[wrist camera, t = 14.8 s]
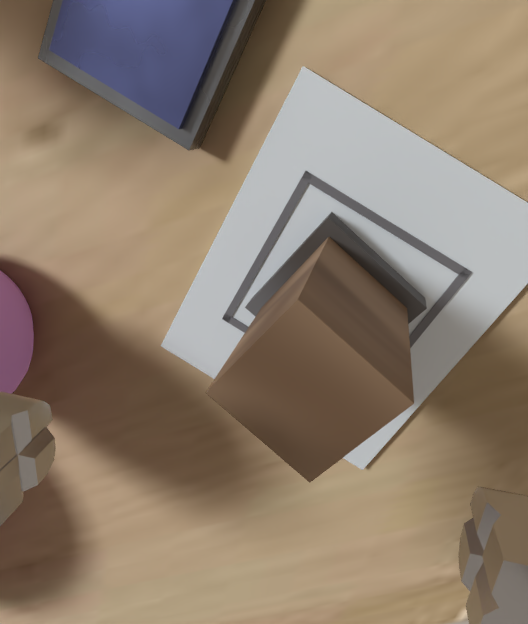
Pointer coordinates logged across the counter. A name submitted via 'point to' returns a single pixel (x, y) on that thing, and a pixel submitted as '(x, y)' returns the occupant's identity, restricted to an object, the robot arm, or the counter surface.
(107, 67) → the ink tin
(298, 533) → the counter surface
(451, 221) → the card
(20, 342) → the container set
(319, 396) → the stamp
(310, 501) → the counter surface
